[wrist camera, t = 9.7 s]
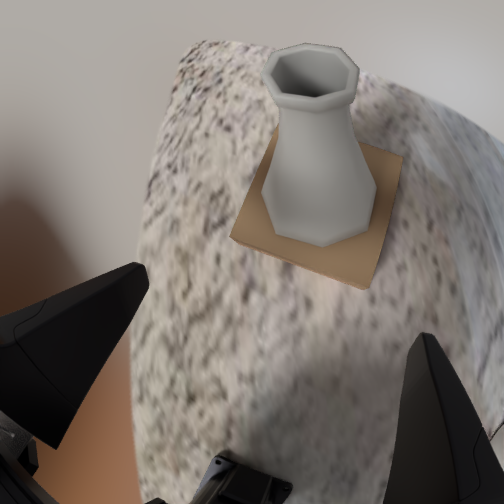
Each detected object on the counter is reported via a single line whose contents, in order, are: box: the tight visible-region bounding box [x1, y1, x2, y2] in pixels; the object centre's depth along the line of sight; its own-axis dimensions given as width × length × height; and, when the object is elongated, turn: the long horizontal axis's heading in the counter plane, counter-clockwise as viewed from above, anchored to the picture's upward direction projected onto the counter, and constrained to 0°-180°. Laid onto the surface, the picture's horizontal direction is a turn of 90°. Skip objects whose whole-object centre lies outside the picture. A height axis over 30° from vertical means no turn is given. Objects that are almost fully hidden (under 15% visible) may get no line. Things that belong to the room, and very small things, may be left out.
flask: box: [260, 43, 377, 248], centre depth 12 cm, size 7×7×10 cm
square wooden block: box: [229, 123, 403, 290], centre depth 18 cm, size 9×9×3 cm
